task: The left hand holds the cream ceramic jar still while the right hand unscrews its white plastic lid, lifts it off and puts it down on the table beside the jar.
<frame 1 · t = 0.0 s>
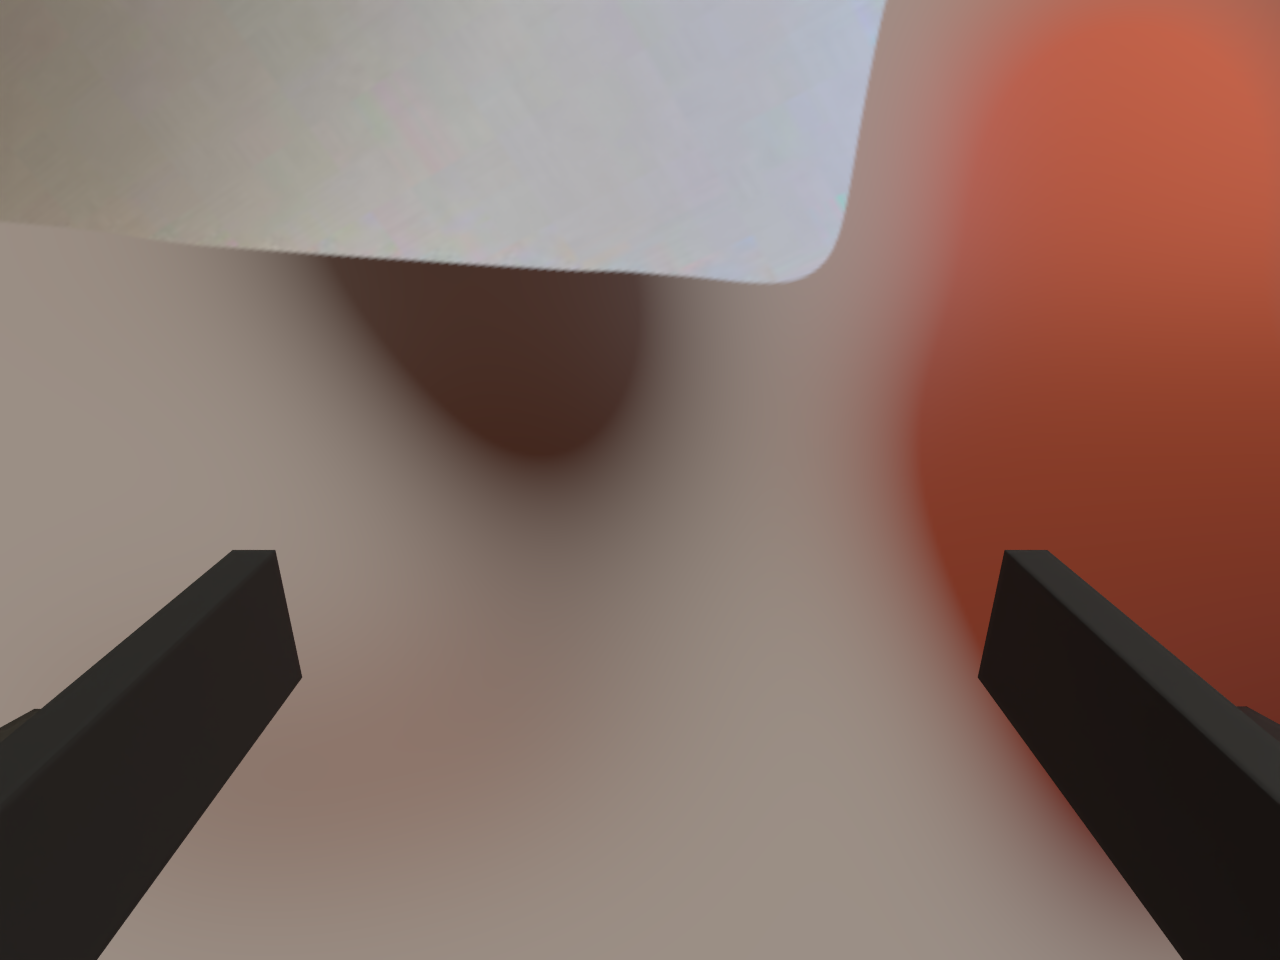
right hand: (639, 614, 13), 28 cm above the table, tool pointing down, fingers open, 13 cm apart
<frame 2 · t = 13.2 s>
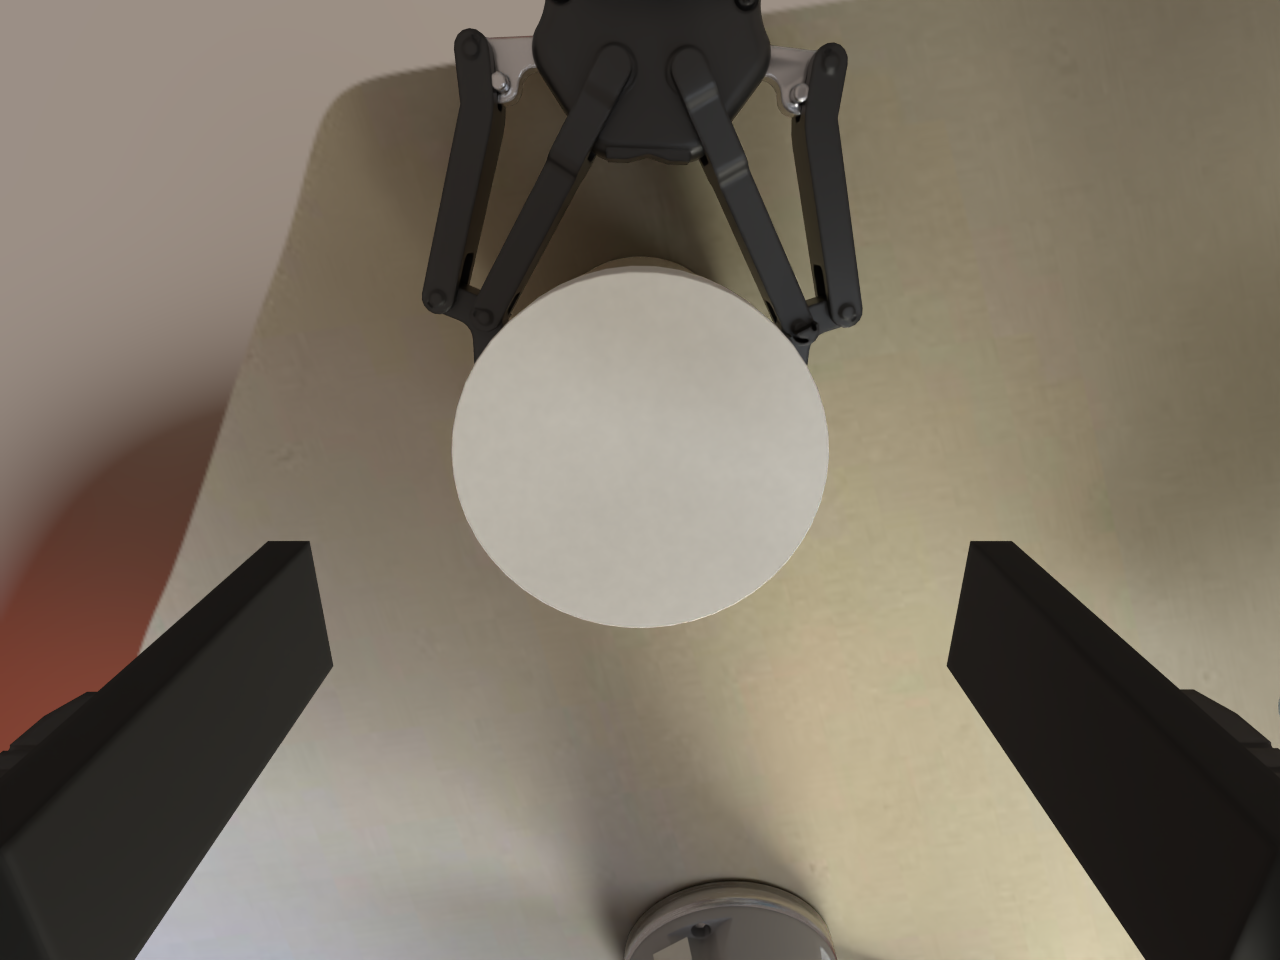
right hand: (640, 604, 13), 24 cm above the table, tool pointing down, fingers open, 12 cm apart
left hand: (637, 481, 31), fingers closed on jar, 10 cm apart
jar: (640, 357, 35), on the table, touching left hand
lid: (640, 463, 20), point 16 cm above the table, screwed on, not yet turned
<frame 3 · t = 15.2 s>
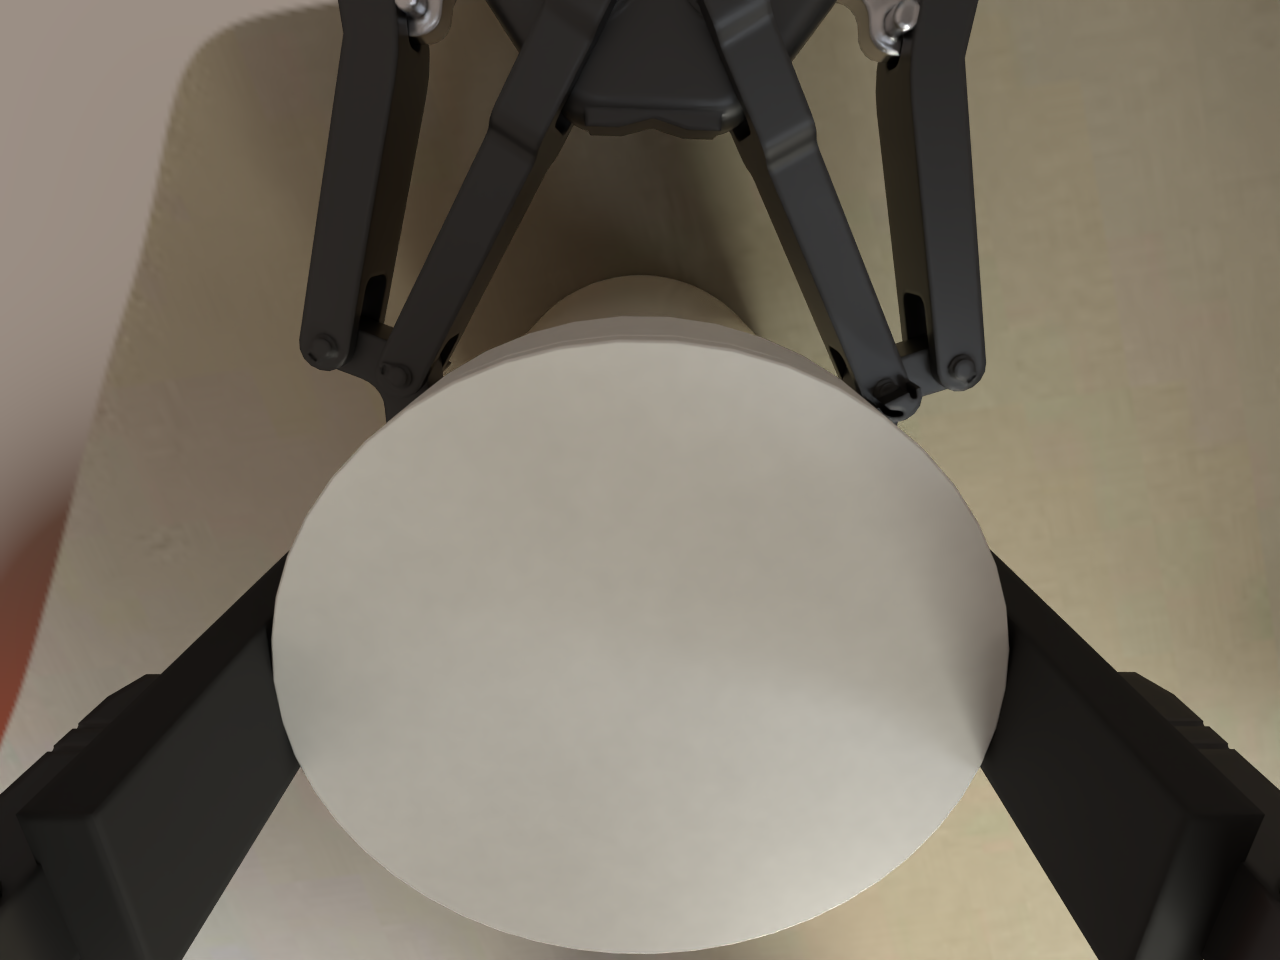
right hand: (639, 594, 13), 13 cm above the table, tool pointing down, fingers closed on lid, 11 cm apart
left hand: (635, 603, 21), fingers closed on jar, 10 cm apart
jar: (640, 413, 26), on the table, touching left hand
lid: (640, 690, 11), point 16 cm above the table, screwed on, not yet turned, touching right hand
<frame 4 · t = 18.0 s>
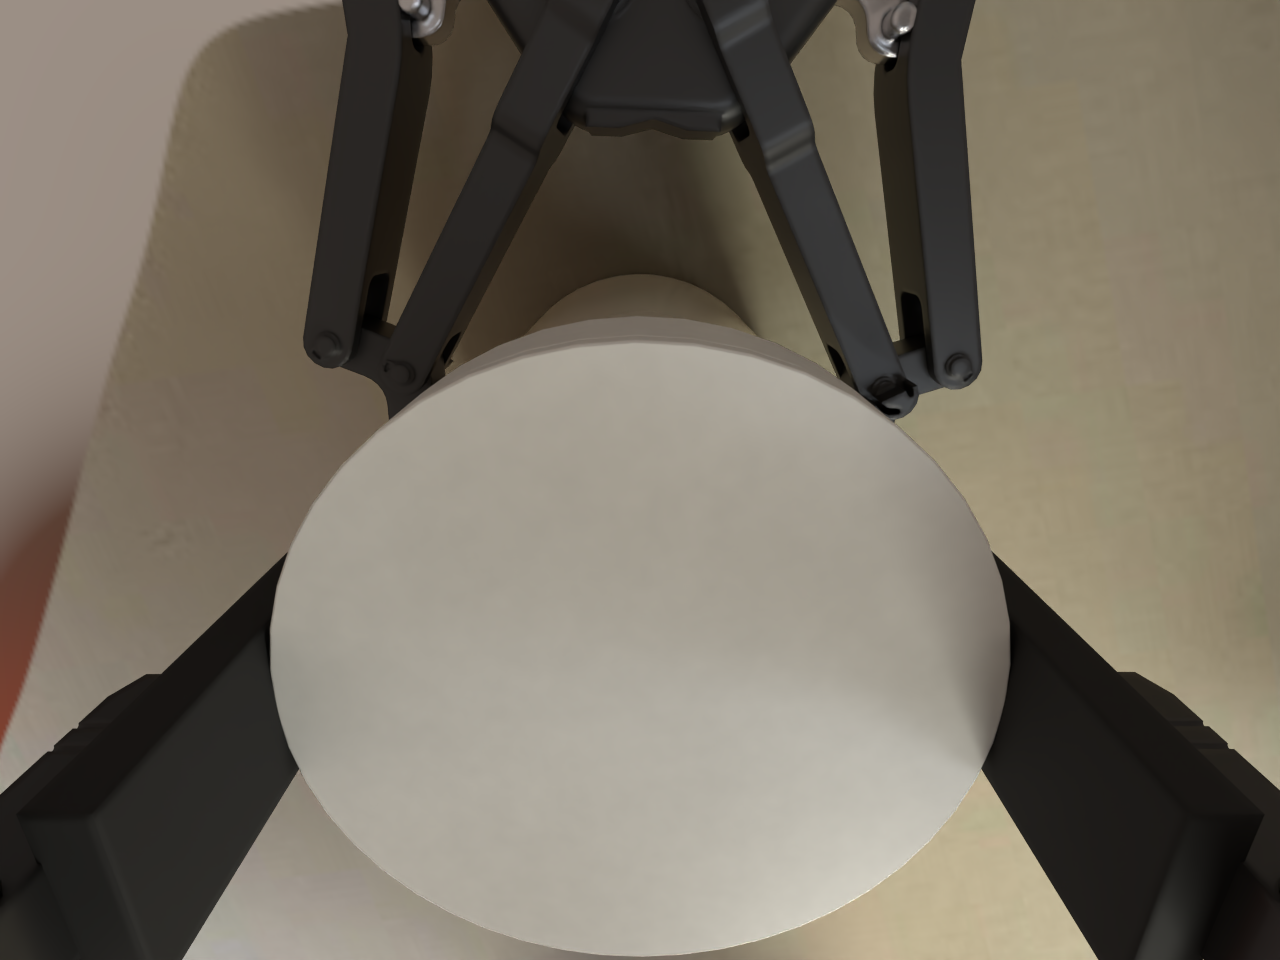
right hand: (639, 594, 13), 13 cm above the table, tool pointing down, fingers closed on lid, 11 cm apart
left hand: (635, 599, 22), fingers closed on jar, 10 cm apart
jar: (640, 411, 26), on the table, touching left hand
lid: (640, 692, 11), point 16 cm above the table, turned 80° so far, risen 0.3 cm, still on its thread, touching right hand
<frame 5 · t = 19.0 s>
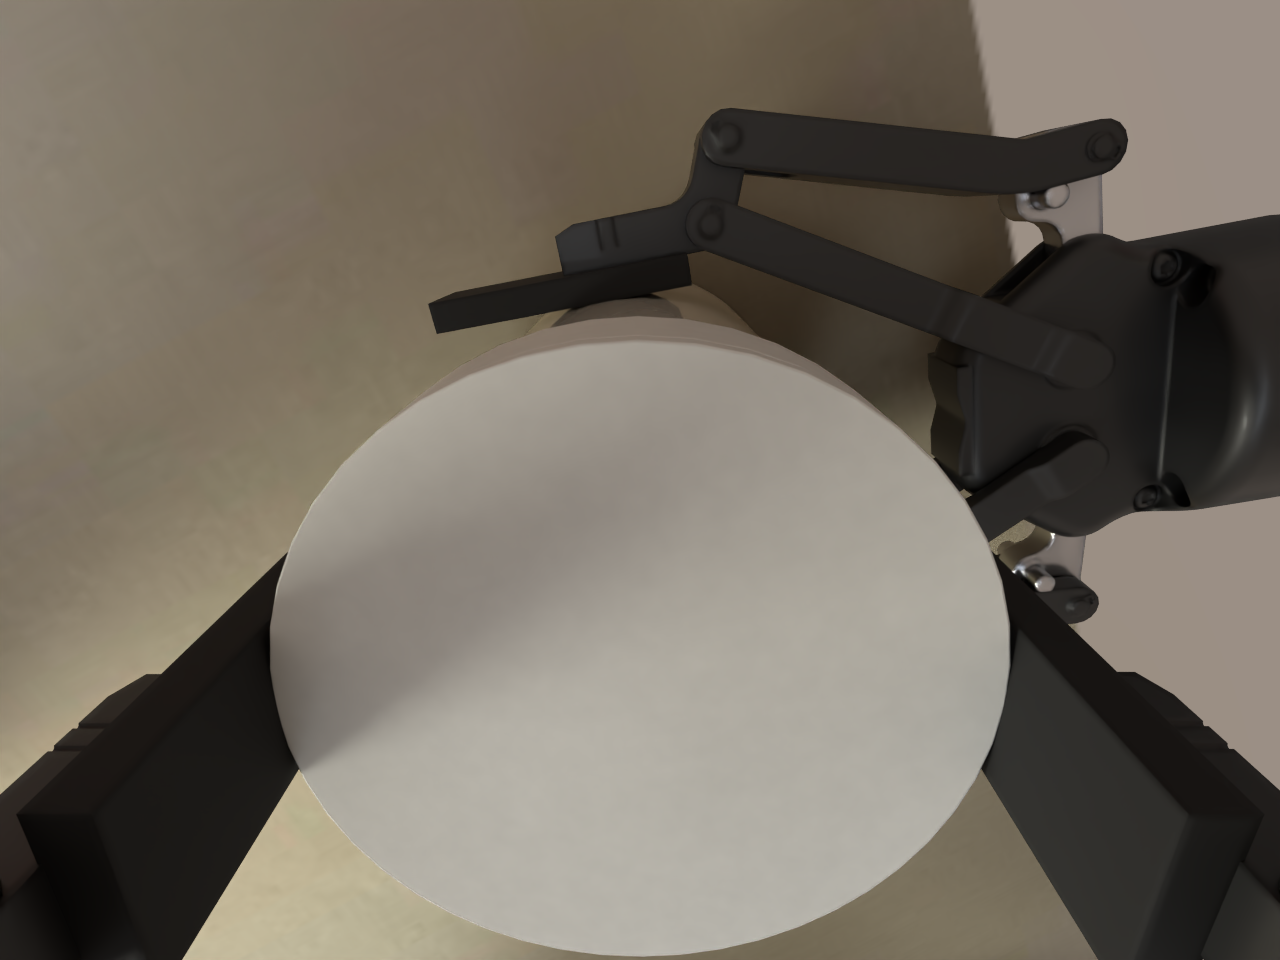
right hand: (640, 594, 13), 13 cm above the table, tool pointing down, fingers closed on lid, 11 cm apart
left hand: (496, 491, 20), fingers closed on jar, 10 cm apart
jar: (640, 410, 26), on the table, touching left hand
lid: (640, 692, 11), point 16 cm above the table, off its thread, touching right hand
when the right hand's fingers open (0 cm above the table, at t = 25.5 s): lid drops 1 cm, point 2 cm above the table.
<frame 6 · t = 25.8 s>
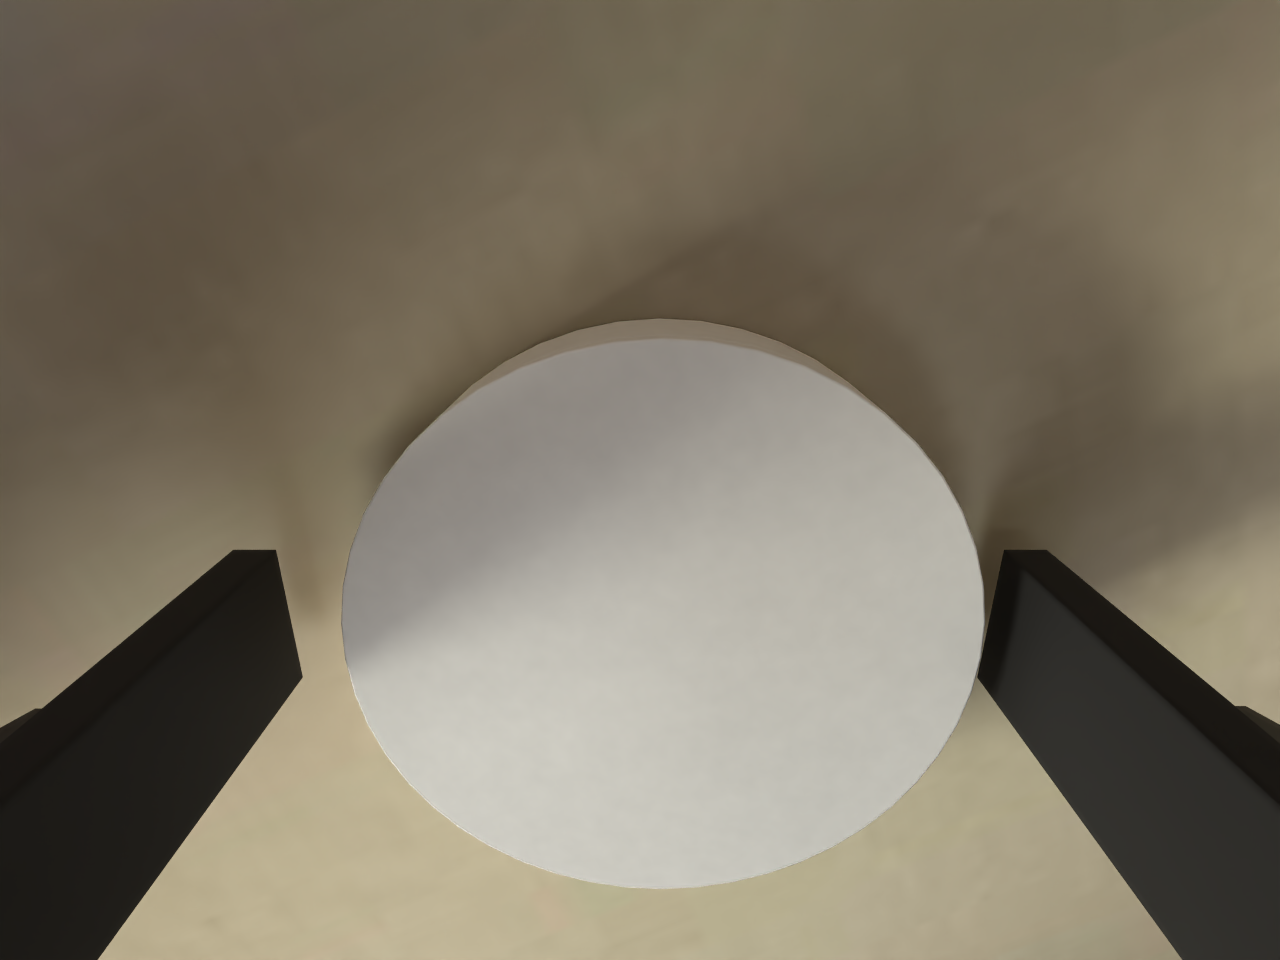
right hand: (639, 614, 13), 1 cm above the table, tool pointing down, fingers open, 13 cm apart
lid: (660, 647, 12), point 2 cm above the table, off its thread
when the left hand's fingers open (6 cm above the table, at t = 26.5 s): jar stays where it is, on the table.
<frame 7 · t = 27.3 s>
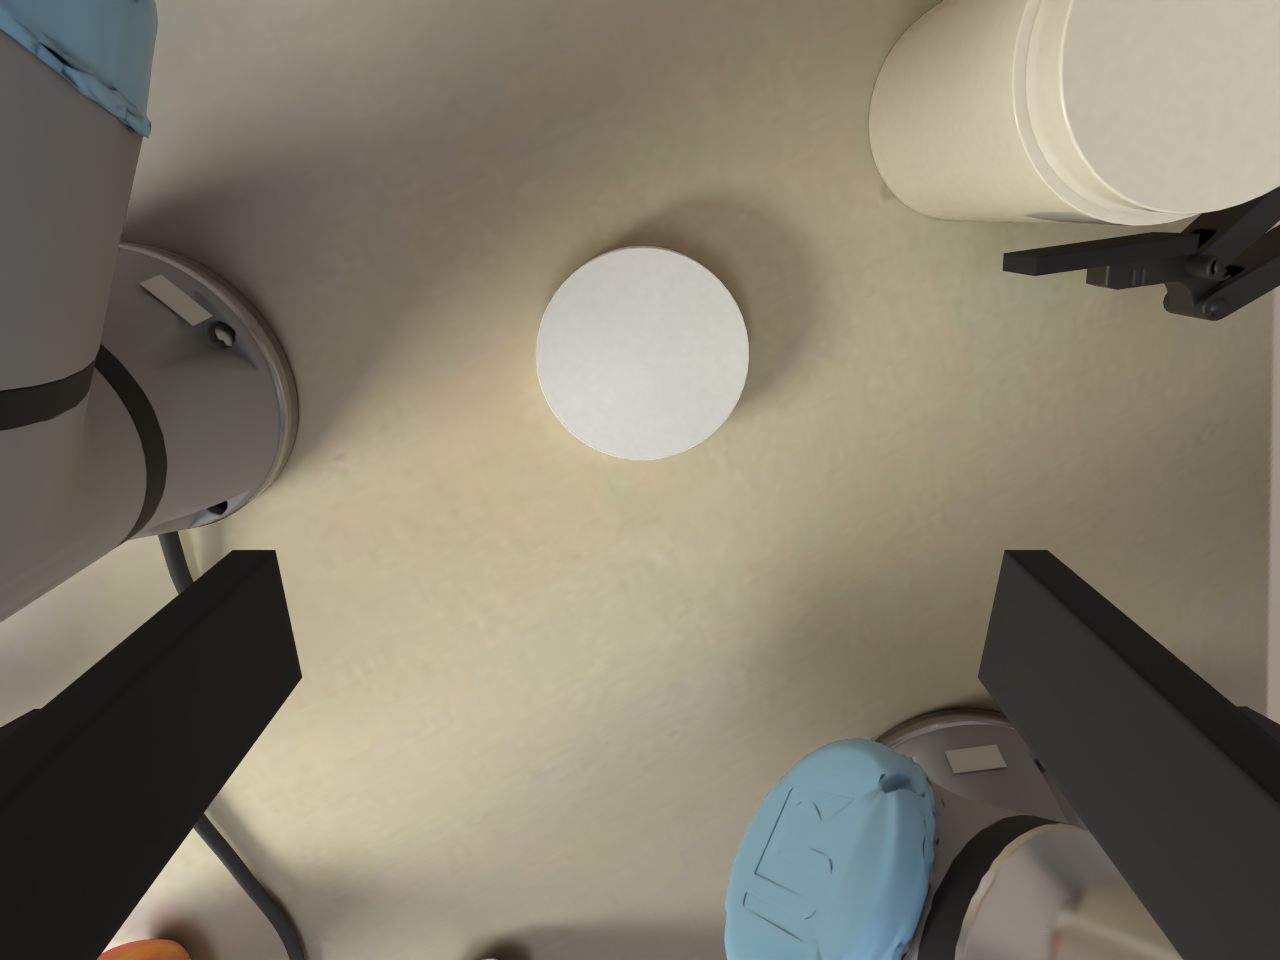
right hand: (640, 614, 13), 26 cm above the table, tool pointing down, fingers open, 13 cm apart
apple: (167, 948, 54), on the table
jar: (971, 111, 33), on the table
lid: (642, 358, 36), point 2 cm above the table, off its thread
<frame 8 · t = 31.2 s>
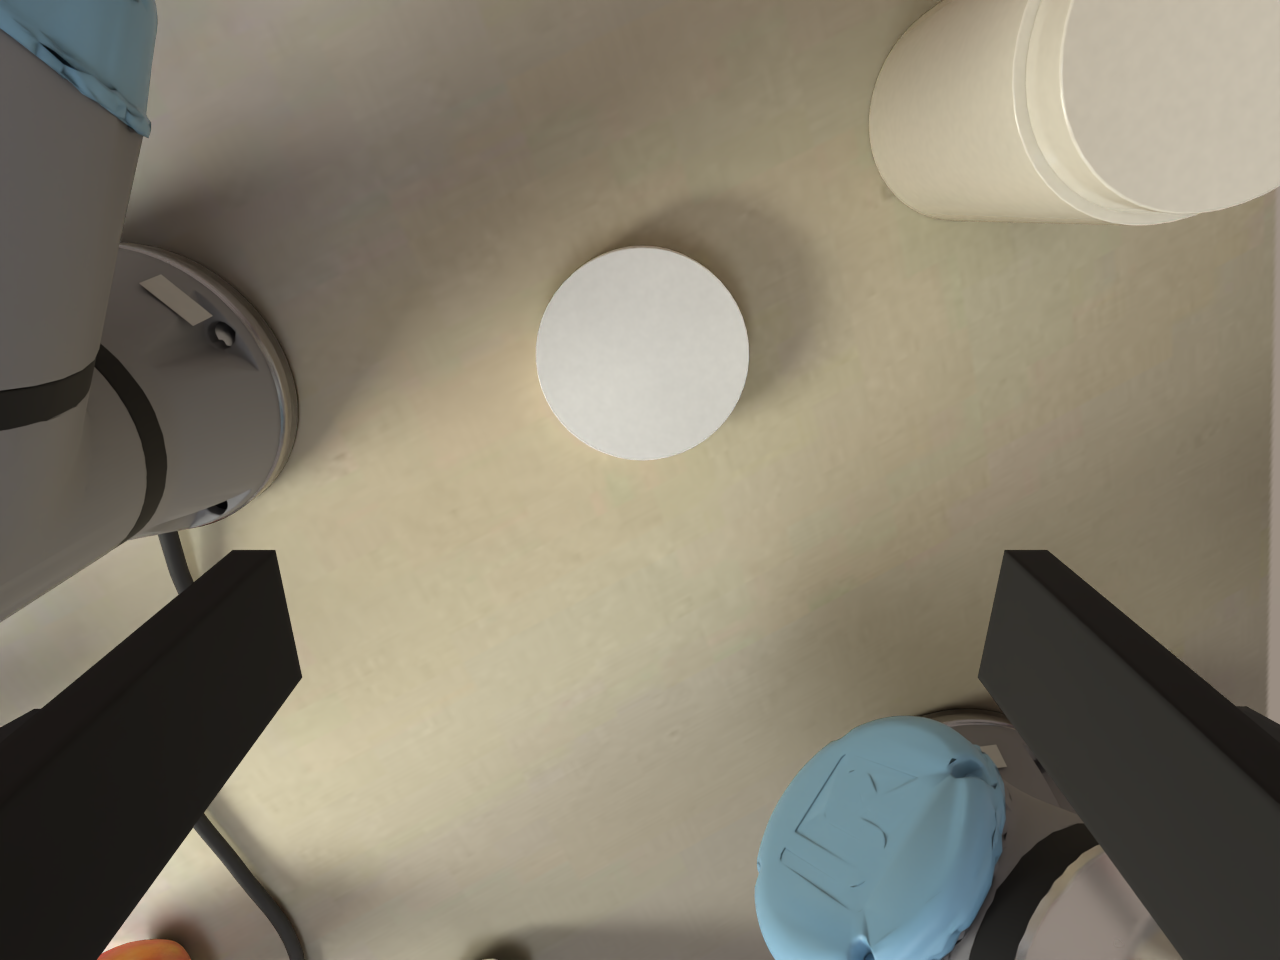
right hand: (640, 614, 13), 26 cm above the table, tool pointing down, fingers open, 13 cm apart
apple: (167, 948, 54), on the table
jar: (971, 111, 33), on the table
lid: (642, 358, 36), point 2 cm above the table, off its thread
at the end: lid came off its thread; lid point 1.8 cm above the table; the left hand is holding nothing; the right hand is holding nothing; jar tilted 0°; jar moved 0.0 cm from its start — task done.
